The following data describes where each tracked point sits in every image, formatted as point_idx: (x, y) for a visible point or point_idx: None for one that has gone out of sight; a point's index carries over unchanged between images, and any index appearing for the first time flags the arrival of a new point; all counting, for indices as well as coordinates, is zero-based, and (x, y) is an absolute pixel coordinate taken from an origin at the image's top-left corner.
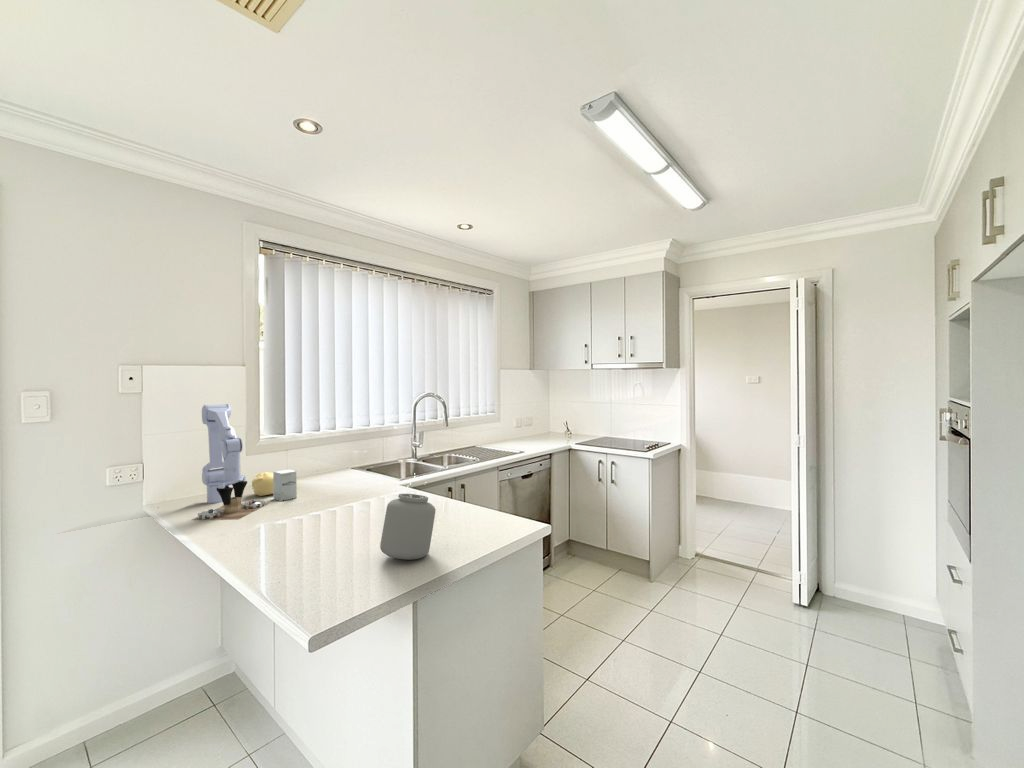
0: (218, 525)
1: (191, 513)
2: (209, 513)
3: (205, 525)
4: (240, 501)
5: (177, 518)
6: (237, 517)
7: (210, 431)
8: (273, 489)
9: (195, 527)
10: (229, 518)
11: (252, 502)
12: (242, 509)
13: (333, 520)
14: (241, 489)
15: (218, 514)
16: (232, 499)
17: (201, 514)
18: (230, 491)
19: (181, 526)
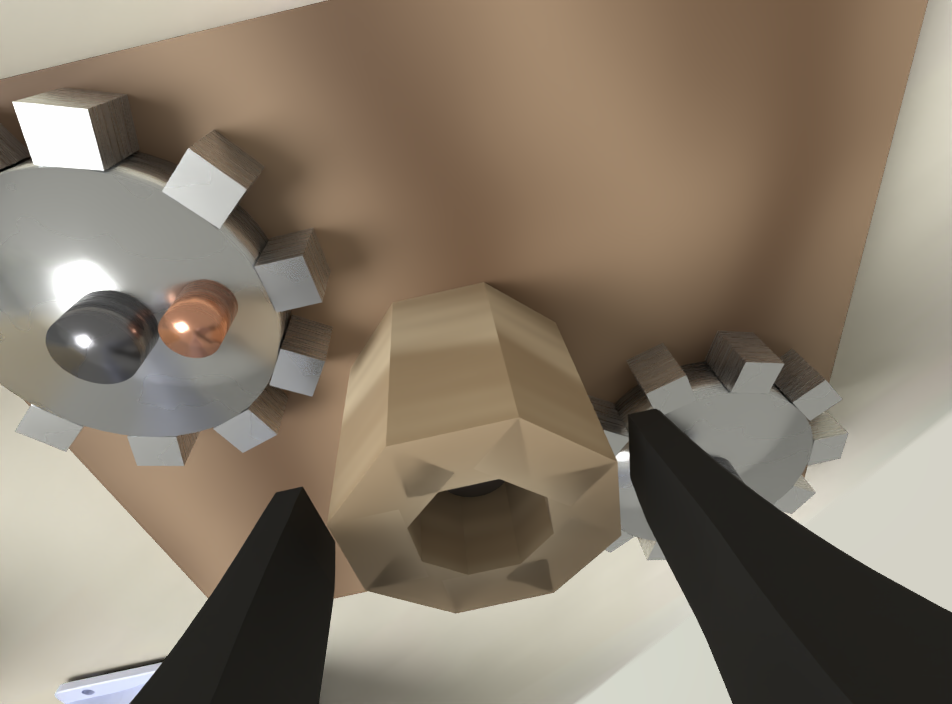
0: (912, 157)
1: (483, 651)
2: (757, 454)
3: (861, 315)
4: (416, 391)
5: (609, 633)
6: (812, 5)
7: None
8: None
9: (908, 355)
10: (840, 120)
11: (142, 319)
12: (359, 315)
13: None
14: (232, 695)
15: (765, 352)
16: (431, 541)
17: (781, 496)
18: (913, 639)
19: (833, 480)
